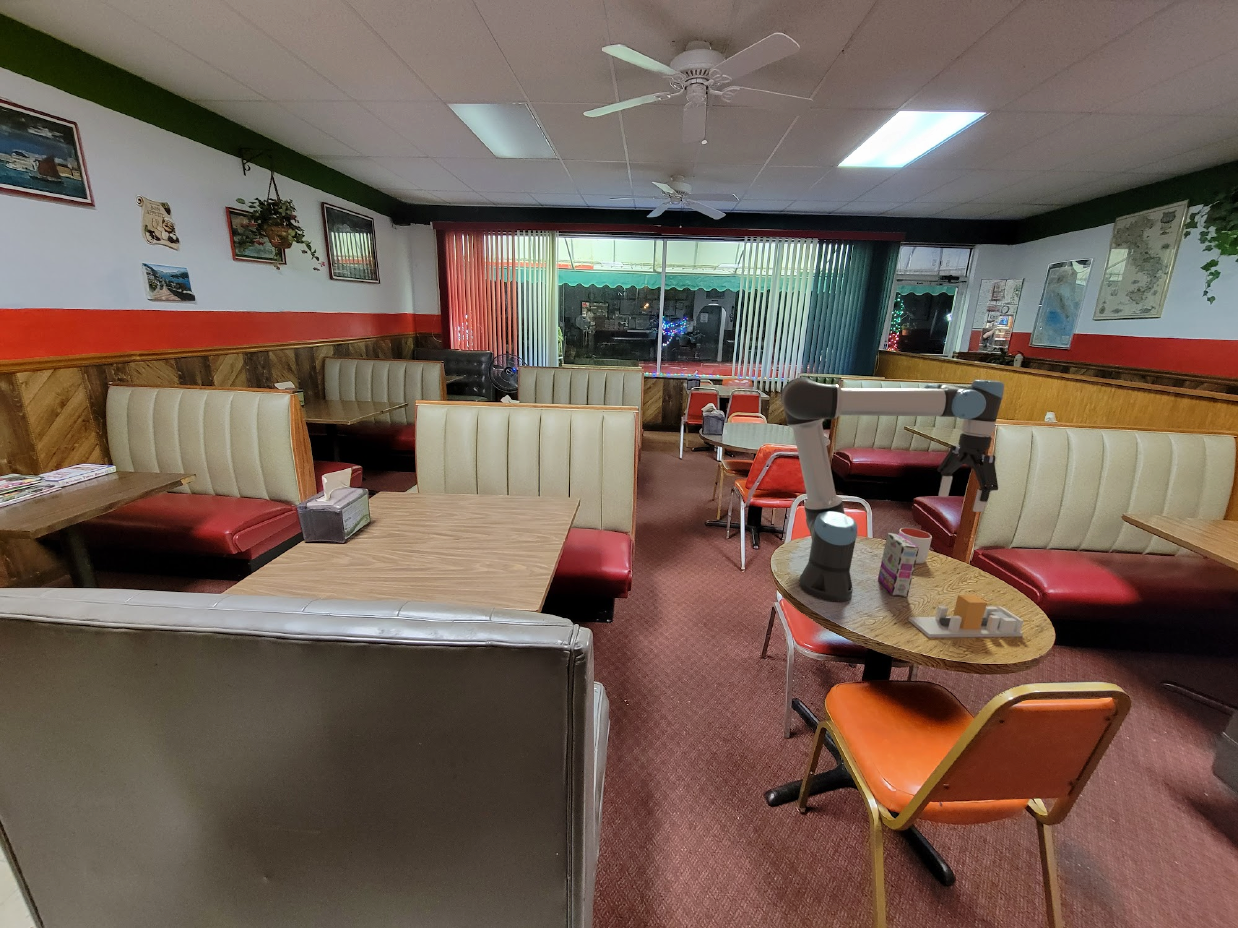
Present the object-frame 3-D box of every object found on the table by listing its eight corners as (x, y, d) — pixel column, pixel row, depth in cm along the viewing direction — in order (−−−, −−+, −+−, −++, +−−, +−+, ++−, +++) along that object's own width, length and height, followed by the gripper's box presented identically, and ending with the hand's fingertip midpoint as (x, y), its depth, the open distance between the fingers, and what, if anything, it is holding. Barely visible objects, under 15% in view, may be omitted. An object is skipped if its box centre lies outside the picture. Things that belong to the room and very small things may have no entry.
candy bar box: (909, 597, 148) (920, 547, 144) (891, 596, 148) (902, 546, 144) (893, 580, 158) (903, 533, 154) (877, 578, 159) (886, 531, 155)
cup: (927, 567, 169) (933, 541, 167) (895, 560, 173) (900, 534, 171) (924, 556, 178) (930, 531, 176) (893, 550, 182) (898, 525, 180)
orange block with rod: (947, 629, 130) (954, 602, 128) (936, 620, 134) (942, 594, 132) (1008, 628, 132) (1016, 602, 130) (996, 620, 136) (1003, 594, 134)
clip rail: (928, 637, 128) (932, 620, 126) (908, 620, 135) (912, 604, 134) (1022, 636, 130) (1027, 619, 129) (997, 619, 138) (1001, 603, 137)
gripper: (1026, 443, 130) (1006, 518, 135) (955, 426, 154) (940, 490, 159) (1001, 443, 129) (981, 518, 134) (933, 426, 153) (919, 490, 158)
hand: (959, 503), depth 147 cm, fingers open, 13 cm apart
